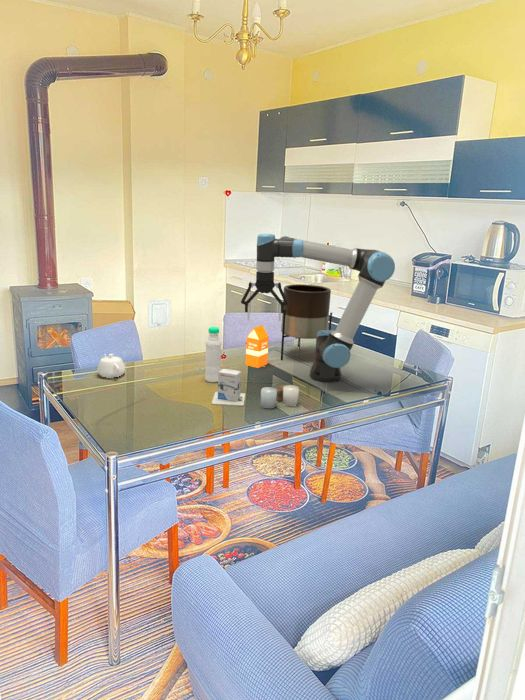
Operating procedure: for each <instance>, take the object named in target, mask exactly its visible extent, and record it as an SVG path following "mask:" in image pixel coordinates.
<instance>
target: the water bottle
mask: <svg viewBox="0 0 525 700" xmlns="http://www.w3.org/2000/svg"><path fill="white" fill-rule="evenodd" d="M219 334H220V328H219V327H217V326H209V327H208V335H209V336H207V340H206V341H205V368H204V371H205V375H204V378H205V381H206V382H208V383H218V372H219V371H220V370H222V368H221V367H222V366H221V364H222V363H221V361H222V341H221V338H220V336H219Z"/></svg>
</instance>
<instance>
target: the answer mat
mask: <svg viewBox="0 0 525 700" xmlns="http://www.w3.org/2000/svg"><path fill="white" fill-rule="evenodd" d="M245 399H246V393H243V392H240V399H238V400H237V401H231V400H225V399H219V398H218V391H215V392H214V395H213V398H212V400H211V406H227V407H228V406H229V407H230V406H231V407H244V405H245Z"/></svg>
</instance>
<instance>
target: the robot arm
mask: <svg viewBox="0 0 525 700" xmlns="http://www.w3.org/2000/svg"><path fill="white" fill-rule="evenodd" d="M275 258H294V259H295V258H303V259H309V260H313V261H314V260H315V261H319V262H323V263H329V264H335V265H340V266H344V267H345V266H346V267H348V268H349V270H354V271H357V272H359V273H358V275H357V277H358V283H357V284H356V286H355V289H354V291H353V293H352V295H351V297H350V299H349V301H348V303H347V305H346V307H345V309H344V312H343V314H342V316H341V318H340V319H339V321H338V323H337V325H336V328H335V329H334V330H333V329H331V330H329V329H328V330H320V331H318V332H317V336H316V340H315V352H314V353H315V354H314V361H313V364H312V365H311V368H310V371H309V377H310V378H311V379H313V380H315V381H317V382H322V383H323V382H324V383H334V381H336V382H339V381H340V379H342V376H343V375H342V370H341V368H343V367H345V366H346V365H347V364H348V363H349V361H350V360H351V357H352V356H351V354H352V353H351V350H352V348H353V347H354V344H355V342H354V340H353V338H354V336H355V335H356V333H357V330H358V328H360V327H359V326H361V323H362V320H363V319H364V317H365V314H366V312H367V311H368V310H369V309H368V308H369V306H370V305H371V302H372V301H373V299H374V296H375V295H376V293H377V291H378V290H379V289H382V288H383V286H384V285H385V283H386V281H387V280H390V279H391V278H392V277H393V276H394V273H395V269H396V263H395V261H394V259H393V258H392V256H391V255H389V254H388V253H386V252H384V251H380V250H376V249H367V248H366V249H365V248H357V247H354V248H353V249H352V248H345V247H341V246H336V245H335V246H334V245H330V244H324V243H319V242H315V241H310V240H304V239H297V238H293V237H290V236H286V235H285V236H284V235H283V236H281V237H279V238H276V234H273V233H259V234H258V235H257V238H256V264H255V265H256V275H255V277H256V278H255V282H252V281H249V283H248V286H247V289H246V291H245V293H244V295H243V297H242V299H241V301H240V303H241V304H242V305H244V312H245V313H247V321H250V311H251V309H250V306H251V305H250V303H251V301H252V300H254V298H255V297H256V296H257V295H258V294H259V293H260V294H271V295H272V296H273V297H274V299H276V301H277V302H278V304H279V306H278V322H282V313H283V312H284V305H287V304H288V301H287V299H286V297H285V295H284V290H283V288H282V283H281V282H280V281H279V282H278V283H277V282H276V283H275V281H274V280H275V272H274V271H275ZM254 287H255V288H256V289H255V290H254V292H253V293H252V294H251V295H250V296H249V297H248V295H249V294H250V292H251V291H252V290H251V289H252V288H254ZM275 287H276V289H278V291H279V293H280V295H281V297H282V300H281V298H280V297H279V296H278V294H277V292H275V290H274V288H275ZM247 297H248V298H247ZM283 300H284V302H283ZM338 380H339V381H338Z"/></svg>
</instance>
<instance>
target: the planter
mask: <svg viewBox="0 0 525 700" xmlns="http://www.w3.org/2000/svg"><path fill="white" fill-rule="evenodd" d="M283 293H284V295H285V297H286V299H287V301H288V304H287V305H284V312H283V313H281V324H280V325H281V327H280V329H281V330H280V331H281V333H282V335H281V350H280V361H283V360H284V344H285V338H289V337H290V338H296V339H298V342H297V348H298V347H300V345H301V339H303V340H304V339H308V340H310V339H311V340H312V339H313V340H314V339H316V336H317V332H318V331H320V330H332V323H333V321H332V319H333V312H330V305H331V293H332V290H331V289H330V288H329V287H326V286H322V285H314V284H301V283H300V284H289V285H288V284H287V285H285V286H283ZM282 302H284V300H283V299H282Z"/></svg>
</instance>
